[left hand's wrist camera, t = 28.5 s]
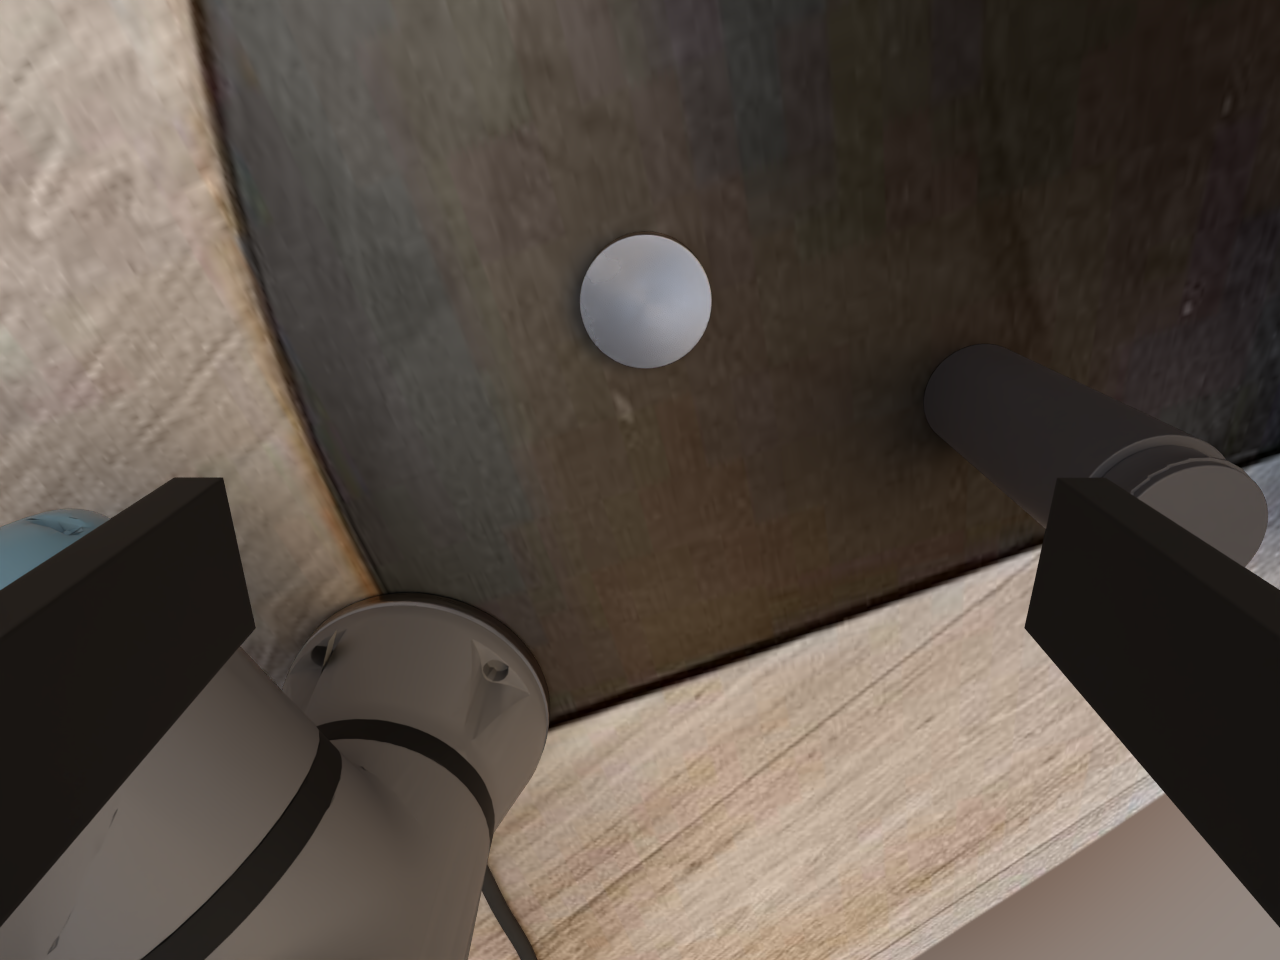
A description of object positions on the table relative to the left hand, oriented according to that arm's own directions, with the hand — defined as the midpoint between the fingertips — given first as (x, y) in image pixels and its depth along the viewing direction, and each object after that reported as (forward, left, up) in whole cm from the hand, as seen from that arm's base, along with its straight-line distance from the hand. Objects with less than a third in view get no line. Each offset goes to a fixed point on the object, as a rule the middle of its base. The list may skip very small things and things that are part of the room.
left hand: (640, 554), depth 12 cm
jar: (-3, -18, -27) cm, 32 cm away
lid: (0, 0, -25) cm, 25 cm away
